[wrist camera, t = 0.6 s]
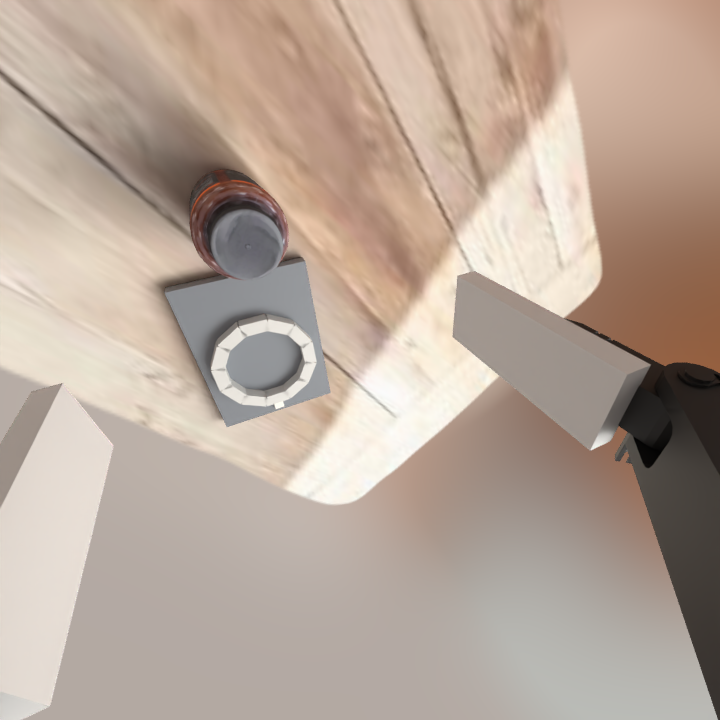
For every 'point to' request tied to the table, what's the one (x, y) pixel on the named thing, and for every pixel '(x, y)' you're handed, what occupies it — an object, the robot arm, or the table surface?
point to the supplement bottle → (237, 226)
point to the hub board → (254, 340)
